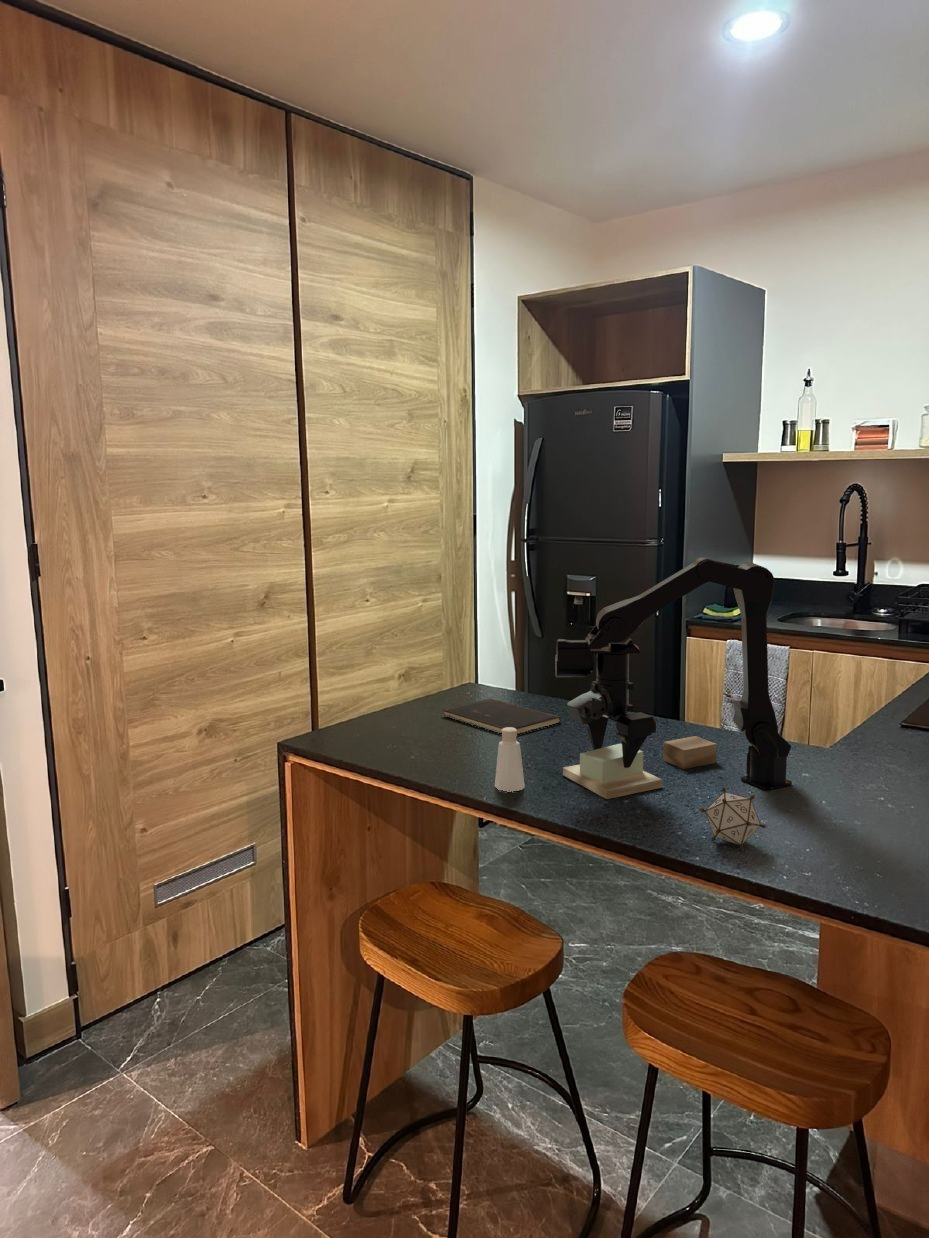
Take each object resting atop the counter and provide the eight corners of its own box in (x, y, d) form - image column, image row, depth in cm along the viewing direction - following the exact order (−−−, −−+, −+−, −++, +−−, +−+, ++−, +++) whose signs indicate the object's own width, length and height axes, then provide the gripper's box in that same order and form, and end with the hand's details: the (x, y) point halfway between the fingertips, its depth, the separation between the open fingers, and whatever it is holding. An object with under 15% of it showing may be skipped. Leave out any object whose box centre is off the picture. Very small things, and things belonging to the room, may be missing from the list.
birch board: (661, 787, 156) (662, 779, 156) (606, 799, 151) (606, 790, 151) (615, 765, 169) (615, 757, 168) (562, 775, 164) (563, 767, 163)
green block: (642, 772, 160) (643, 751, 159) (602, 783, 154) (602, 761, 154) (619, 763, 165) (620, 743, 164) (579, 774, 159) (580, 753, 159)
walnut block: (716, 763, 169) (716, 743, 169) (683, 770, 166) (684, 750, 165) (695, 755, 175) (695, 735, 174) (663, 761, 171) (663, 741, 171)
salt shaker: (488, 787, 158) (487, 728, 156) (510, 780, 161) (509, 722, 159) (508, 795, 154) (508, 735, 152) (530, 788, 157) (530, 729, 155)
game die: (743, 865, 133) (787, 819, 130) (717, 862, 127) (763, 814, 124) (705, 821, 139) (747, 776, 136) (678, 817, 133) (721, 770, 130)
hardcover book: (509, 739, 188) (509, 729, 187) (442, 718, 205) (442, 709, 205) (560, 725, 198) (560, 715, 198) (492, 706, 215) (492, 697, 215)
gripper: (547, 672, 162) (547, 753, 164) (605, 693, 145) (605, 783, 148) (597, 665, 166) (596, 744, 169) (659, 685, 150) (657, 772, 152)
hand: (611, 760), depth 159 cm, fingers open, 9 cm apart
